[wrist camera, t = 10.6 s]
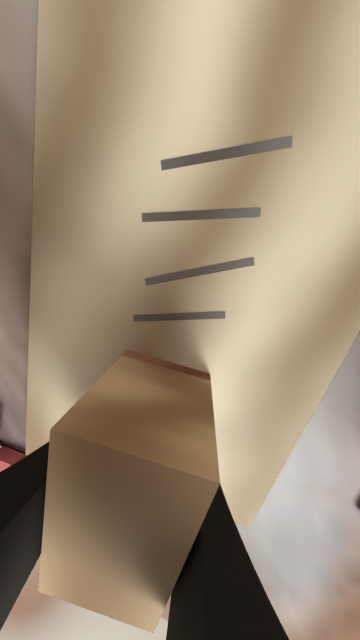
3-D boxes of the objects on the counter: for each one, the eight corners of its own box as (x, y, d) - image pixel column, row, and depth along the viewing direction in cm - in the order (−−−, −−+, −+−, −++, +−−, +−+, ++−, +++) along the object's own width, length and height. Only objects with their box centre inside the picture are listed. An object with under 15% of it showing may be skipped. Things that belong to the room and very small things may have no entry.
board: (481, 44, 6) (554, -15, 5) (244, 502, 12) (249, 528, 10) (70, -36, 6) (40, -109, 5) (41, 437, 12) (25, 455, 11)
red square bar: (106, 487, 12) (99, 501, 11) (104, 497, 12) (97, 511, 12) (-11, 440, 13) (-25, 450, 12) (-10, 450, 13) (-24, 461, 12)
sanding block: (210, 373, 8) (220, 482, 4) (173, 479, 10) (153, 633, 6) (127, 349, 8) (50, 429, 4) (106, 458, 10) (38, 591, 6)
